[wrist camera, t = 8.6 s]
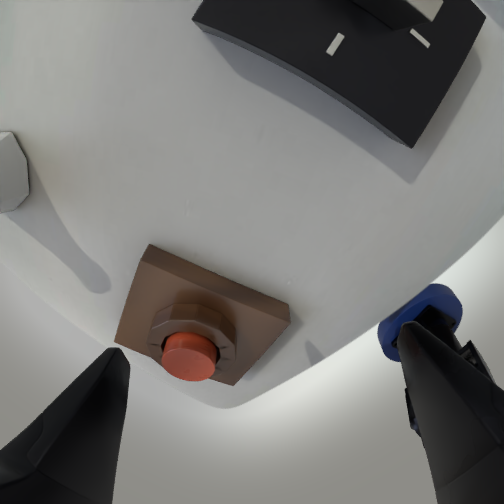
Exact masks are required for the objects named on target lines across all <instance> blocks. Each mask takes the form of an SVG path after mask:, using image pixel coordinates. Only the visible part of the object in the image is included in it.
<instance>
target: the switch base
mask: <svg viewBox="0 0 504 504" xmlns="http://www.w3.org/2000/svg"><path fill="white" fill-rule="evenodd" d="M485 19H486V16H485V15H484V14H483V13H482V12H481V10H480V9H479V8H478V7H477V6H476V5H475V4H474V3H473V2H472V1H471V0H443V4H442V5H441V7H440V9H439V11H438V13H437V14H436V16H435V18H434V20H433V21H432V22H428V23H424V24H420V25H415V26H411V27H408V28H404V29H400V30H396V31H395V30H393V29H392V28H390V27H389V26H388V25H386V24H385V23H384V22H382V21H381V20H380V19H378V18H377V17H375V16H374V15H372V14H371V13H370V12H368V11H367V10H365V9H364V8H362V7H361V6H359V5H357V4H356V3H354V2H353V1H351V0H203V2H202V3H201V5H200V6H199V8H198V9H197V11H196V13H195V14H194V16H193V18H192V21H193V22H194V23H195V24H196V25H197V26H198V27H199V28H200V29H201V30H203V31H206V32H208V33H211V34H213V35H216V36H218V37H220V38H223V39H225V40H227V41H230V42H232V43H234V44H237V45H239V46H241V47H243V48H245V49H247V50H249V51H252V52H254V53H256V54H258V55H260V56H262V57H264V58H266V59H268V60H270V61H272V62H274V63H275V64H277V65H279V66H281V67H283V68H285V69H287V70H288V71H290V72H292V73H294V74H296V75H297V76H299V77H301V78H303V79H304V80H306V81H308V82H309V83H311V84H313V85H314V86H316V87H318V88H319V89H321V90H323V91H324V92H326V93H327V94H329V95H330V96H332V97H334V98H335V99H337V100H338V101H340V102H341V103H343V104H344V105H346V106H347V107H349V108H350V109H352V110H353V111H354V112H356V113H357V114H359V115H360V116H362V117H363V118H364V119H366V120H367V121H368V122H370V123H371V124H373V125H374V126H375V127H377V128H378V129H379V130H381V131H382V132H383V133H384V134H386V135H387V136H388V137H390V138H391V139H393V140H395V141H397V142H399V143H401V144H403V145H405V146H407V147H409V148H413V147H414V145H415V144H416V142H417V140H418V139H419V137H420V136H421V134H422V132H423V131H424V129H425V128H426V126H427V124H428V123H429V121H430V120H431V118H432V116H433V115H434V113H435V111H436V110H437V108H438V106H439V105H440V103H441V101H442V100H443V98H444V96H445V94H446V93H447V91H448V89H449V88H450V86H451V84H452V82H453V80H454V79H455V77H456V75H457V73H458V72H459V70H460V68H461V66H462V64H463V62H464V61H465V59H466V57H467V55H468V53H469V51H470V49H471V47H472V45H473V43H474V41H475V39H476V37H477V35H478V33H479V31H480V29H481V27H482V25H483V23H484V21H485Z"/></svg>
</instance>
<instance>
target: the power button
mask: <svg viewBox="0 0 504 504" xmlns="http://www.w3.org/2000/svg"><path fill="white" fill-rule="evenodd" d="M216 355H217V349H216V347H215V345H214V343H213V342H212V341H211V340H210V339H209V338H207V337H205V336H202V335H200V334H197V333H194V332H177V333H174V334H172V335H171V336H170V337H169V338H168V339H167V341H166V344H165V348H164V352H163V355H162V365H163V367H164V369H165V370H166V371H167V372H168V373H170V374H171V375H173V376H175V377H177V378H179V379H182V380H187V381H201V380H205V379H207V378H209V377H211V376H212V375H213V373H214V371H215V364H216Z"/></svg>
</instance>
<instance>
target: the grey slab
mask: <svg viewBox="0 0 504 504" xmlns="http://www.w3.org/2000/svg"><path fill="white" fill-rule="evenodd" d="M351 1H353V2H354V3H356V4H357V5H359V6H361V7H362V8H364V9H365V10H367V11H368V12H370V13H371V14H372V15H374V16H375V17H377V18H378V19H380V20H381V21H382V22H384V23H385V24H386V25H388V26H389V27H390V28H392V29H393V30H395V31H396V30H400V29H404V28H408V27H411V26H415V25H420V24H424V23H428V22H432V21H433V20H434V18H435V16H436V14H437V13H438V11H439V9H440V7H441V5H442V4H443V0H351Z"/></svg>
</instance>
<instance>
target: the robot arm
mask: <svg viewBox="0 0 504 504" xmlns="http://www.w3.org/2000/svg"><path fill="white" fill-rule="evenodd" d="M456 323H457V321H456V320H455V319H454V318H453V317H451V316H449V315H448V314H446V313H444V312H443V311H441V310H439V309H437V308H436V307H434V306H432V305H427V306H426V307H425V308H424V309H423V310H422V311H421V312H420V313H419V315H418V316H417V317H416V318H415V319H414V320H413V321H411V322H406V323H403V324H402V326H401V330H400V333H399V335H398V336H397V337H396V338H395V339H394V340H393V341H392V342H391V345H392V347H393V348H396V349H398V352H399V356H400V360H401V364H402V369H403V373H404V378H405V382H406V386H407V388H405V393H406V403H407V408H408V415H409V421H410V427H411V429H413V430H415V431H416V433H417V434H418V435H419V436H420V437H421V439H422V442H423V446H424V448H425V450H426V454H427V458H428V462H429V466H430V470H431V474H432V478H433V483H434V488H435V491H436V498H437V503H438V504H504V391H503V390H502V389H501V388H500V387H498V386H497V385H496V383H495V381H494V379H493V376H492V374H491V372H490V370H489V368H488V366H487V364H486V362H485V361H484V359H483V357H482V356H481V354H480V353H479V351H478V350H477V348H476V347H475V346H474V344H473V343H472V342H471V340H470V341H469V342H467V344H466V345H465V346H464V347H461V345H460V343H459V341H458V340H457V338H456V336H455V335H454V333H453V331H452V330H451V329H452V328H453V327H454V326H455V325H456ZM129 378H130V364H129V362H128V360H127V358H126V357H125V355H124V353H123V352H122V350H121V349H120V348H116V347H110V348H107V349H106V350H105V351H104V352H103V353H102V354H101V355H100V356H99V357H98V358H97V359H96V360H95V361H94V362H93V363H92V364H91V365H90V366H89V367H88V368H87V369H86V370H85V371H83V372H82V373H81V374H80V375H79V376H78V377H77V378H76V379H75V380H74V381H73V382H72V383H71V384H70V385H69V386H68V387H67V388H66V389H65V390H64V391H63V392H62V393H61V394H60V395H59V396H58V397H57V398H56V399H55V400H54V401H53V402H52V403H51V404H50V405H49V406H48V407H47V408H46V409H45V410H44V411H43V413H41V414H40V415H39V416H38V417H37V418H36V419H35V420H34V421H33V422H32V423H31V424H30V425H29V426H28V427H27V428H26V429H24V430H23V431H22V432H21V433H20V434H19V435H18V436H17V437H15V438H14V439H13V440H12V441H10V442H9V443H8V444H7V445H6V446H5V447H3V448H2V449H1V450H0V504H112V500H113V491H114V483H115V475H116V467H117V461H118V455H119V448H120V442H121V436H122V430H123V425H124V420H125V414H126V408H127V399H128V387H129Z"/></svg>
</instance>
